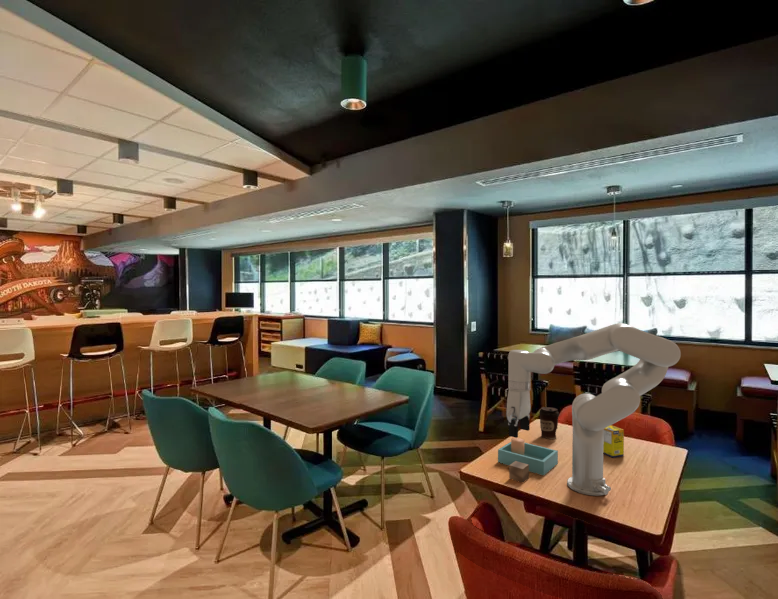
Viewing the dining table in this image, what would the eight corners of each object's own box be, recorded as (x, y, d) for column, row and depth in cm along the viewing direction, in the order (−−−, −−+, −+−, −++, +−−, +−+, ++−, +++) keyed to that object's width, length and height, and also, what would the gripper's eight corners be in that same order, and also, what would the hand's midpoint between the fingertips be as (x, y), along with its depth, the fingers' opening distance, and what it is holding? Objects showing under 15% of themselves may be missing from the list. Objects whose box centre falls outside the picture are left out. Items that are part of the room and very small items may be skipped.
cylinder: (527, 459, 165) (527, 441, 165) (516, 460, 163) (516, 443, 163) (519, 454, 170) (519, 437, 169) (508, 456, 168) (508, 438, 168)
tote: (557, 463, 163) (557, 450, 163) (543, 475, 153) (543, 461, 153) (513, 451, 175) (513, 439, 175) (497, 462, 165) (497, 449, 164)
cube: (528, 478, 151) (528, 464, 151) (522, 483, 147) (522, 469, 147) (515, 474, 154) (515, 460, 154) (509, 479, 150) (509, 465, 150)
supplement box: (624, 456, 170) (624, 429, 170) (612, 458, 168) (612, 431, 168) (611, 450, 176) (612, 424, 175) (600, 452, 174) (600, 426, 174)
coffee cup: (554, 441, 186) (554, 412, 186) (535, 437, 192) (536, 409, 192) (561, 436, 193) (561, 408, 193) (543, 432, 198) (543, 405, 198)
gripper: (519, 379, 159) (519, 425, 159) (498, 387, 146) (498, 437, 146) (539, 382, 154) (539, 429, 154) (519, 391, 141) (518, 442, 141)
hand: (519, 433), depth 150 cm, fingers open, 9 cm apart
